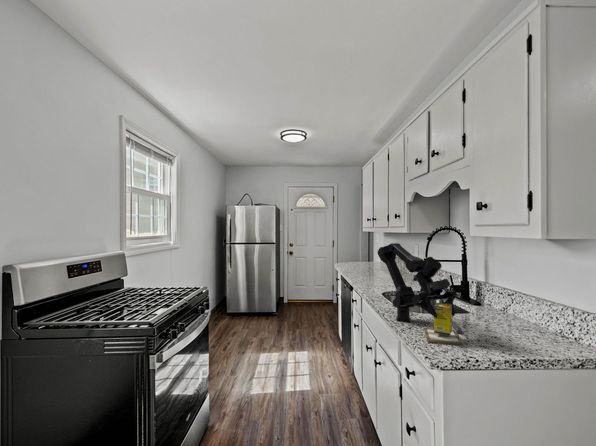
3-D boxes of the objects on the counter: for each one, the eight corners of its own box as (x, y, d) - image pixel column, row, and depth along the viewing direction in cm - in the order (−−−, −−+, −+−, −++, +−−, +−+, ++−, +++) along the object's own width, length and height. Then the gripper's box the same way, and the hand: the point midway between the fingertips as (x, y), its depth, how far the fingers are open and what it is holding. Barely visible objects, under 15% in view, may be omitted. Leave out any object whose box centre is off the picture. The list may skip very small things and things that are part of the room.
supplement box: (450, 335, 126) (450, 307, 126) (433, 333, 129) (433, 305, 129) (452, 331, 131) (452, 304, 131) (436, 328, 134) (436, 302, 134)
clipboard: (424, 330, 139) (424, 326, 139) (454, 332, 136) (454, 328, 136) (427, 342, 124) (427, 338, 124) (462, 345, 121) (462, 341, 121)
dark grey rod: (456, 321, 146) (456, 325, 146) (452, 321, 147) (451, 325, 147) (462, 330, 134) (462, 334, 134) (457, 330, 134) (457, 334, 134)
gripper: (416, 273, 131) (435, 307, 120) (454, 271, 136) (475, 303, 126) (404, 289, 138) (421, 322, 128) (441, 286, 144) (460, 318, 133)
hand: (445, 316), depth 128 cm, fingers closed on supplement box, 8 cm apart
